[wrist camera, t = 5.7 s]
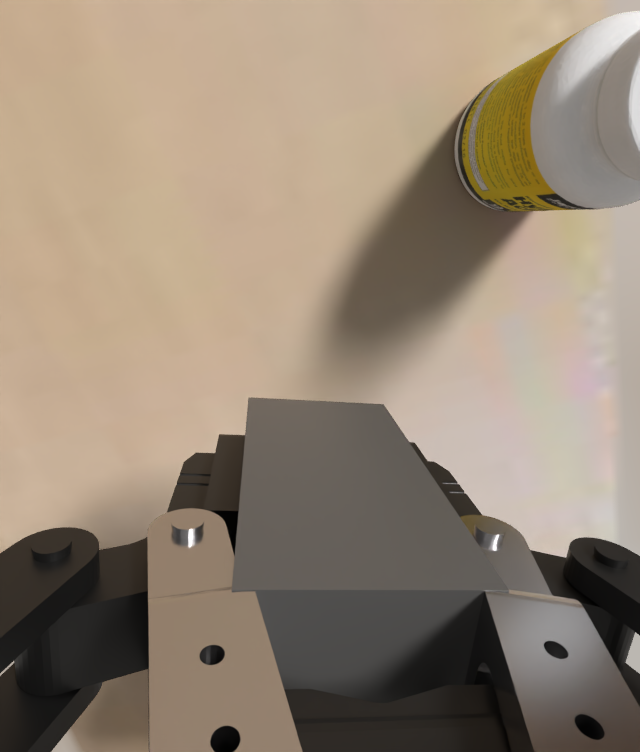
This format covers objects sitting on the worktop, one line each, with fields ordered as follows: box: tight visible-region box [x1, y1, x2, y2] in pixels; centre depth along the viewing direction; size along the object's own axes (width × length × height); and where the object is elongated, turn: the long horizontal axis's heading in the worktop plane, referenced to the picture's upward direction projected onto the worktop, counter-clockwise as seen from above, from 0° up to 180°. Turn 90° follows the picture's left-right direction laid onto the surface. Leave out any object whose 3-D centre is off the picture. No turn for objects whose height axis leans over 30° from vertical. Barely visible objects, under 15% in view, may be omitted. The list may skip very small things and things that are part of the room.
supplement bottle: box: [455, 11, 640, 212], centre depth 17 cm, size 5×5×10 cm
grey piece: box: [232, 398, 509, 703], centre depth 11 cm, size 6×12×7 cm, turn 175°
